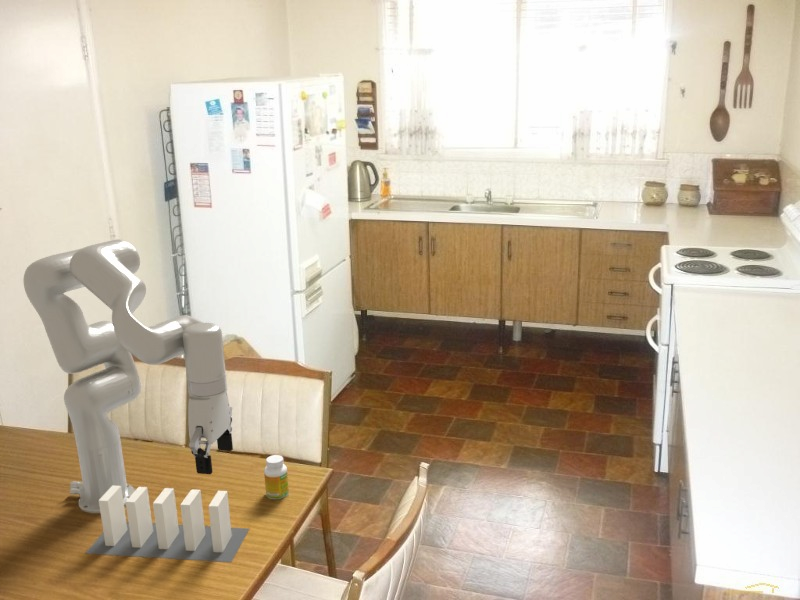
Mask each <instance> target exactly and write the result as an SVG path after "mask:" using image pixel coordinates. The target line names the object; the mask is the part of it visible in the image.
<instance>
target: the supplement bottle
mask: <svg viewBox="0 0 800 600" xmlns="http://www.w3.org/2000/svg"><path fill="white" fill-rule="evenodd" d="M265 461H266V466H265V468H264V469H263V473H264V474H263V475H264V486H265V495H266V497H267V498H269V499H271V500H280V499H283V498H286V497H288V496H289V493H290V490H289V488H290V487H289V478H288V467H287V466H286V464H284V457H283V456H282V455H279V454H274V455H272V454H271V455H270V456H268V457H266V459H265Z"/></svg>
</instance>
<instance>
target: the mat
mask: <svg viewBox="0 0 800 600" xmlns="http://www.w3.org/2000/svg"><path fill="white" fill-rule="evenodd" d="M126 523H127V531H126V532H125V534H124V535H123V536H122V537H121V539H120V540H119V541H118V542H117V544H116V545H115V546H106V545H105V538H104V532H103V531H102V533H101V534H100V535H99V537H98V538H97V539H96V540H95V541H94V542H93V543H92V545H91V546H90V547H89V548H88V549H87V551H85V554H87V555H88V554H89V555H105V556H107V555H108V556H121V557H123V556H124V557H136V558H137V557H138V558H154V559H168V560H169V559H171V560H185V561H186V560H187V561H202V562H219V563H221V562H222V563H232V562H233V560H234V559H235V556H236V554H237V553H238V551H239V549H240V547H241V546H242V544H243V541H244V539H246V537H247V535H248V533H249V531H250V528H249V527H248V528H246V527H244V528H243V527H231V532H232V536H231V538H230V540H229V542H228V544H227V546H226V547H225V549H224V551H223V552H213V543H212V534H211V525H210V526H208V525H206V526H205V525H204V526H205V536H204V537H203V539H202V541H201V542H200V544H199V545H198V547H197V548H196V550H195V551H188V550H186V547H185V539H184V530H183V524H178V527H179V534H178V535H177V537H176V538H175V540H174V541H173V543H172V544H171V545H170V547H169V548H168V549H159V546H158V538H157V531H156V523H155V522H152V526H153V532H152V534H151V535H150V536H149V538H148V539H147V540H146V542H145V543H144V544H143V546H142V547H141V548H138V547H132V543H131V536H130V529H129V522H128V521H126Z"/></svg>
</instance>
